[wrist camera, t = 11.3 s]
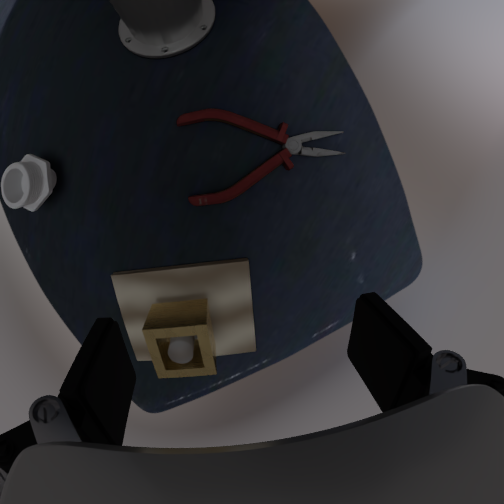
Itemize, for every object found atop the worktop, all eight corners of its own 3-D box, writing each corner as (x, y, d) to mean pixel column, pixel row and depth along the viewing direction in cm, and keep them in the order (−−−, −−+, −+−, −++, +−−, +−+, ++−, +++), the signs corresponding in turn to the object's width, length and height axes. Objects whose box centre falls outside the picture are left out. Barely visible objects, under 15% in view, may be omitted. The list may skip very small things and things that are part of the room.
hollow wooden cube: (152, 303, 33) (141, 329, 27) (207, 298, 33) (206, 324, 28) (164, 348, 35) (158, 378, 29) (215, 344, 35) (216, 374, 30)
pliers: (344, 185, 35) (353, 187, 33) (190, 207, 33) (188, 210, 31) (334, 102, 32) (342, 97, 29) (177, 116, 30) (173, 112, 28)
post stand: (113, 272, 34) (88, 303, 25) (247, 257, 36) (258, 287, 27) (139, 356, 38) (126, 397, 30) (255, 346, 40) (265, 388, 31)
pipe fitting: (63, 148, 28) (30, 147, 21) (69, 201, 30) (36, 212, 23) (30, 159, 28) (-5, 162, 20) (35, 209, 30) (1, 221, 22)
